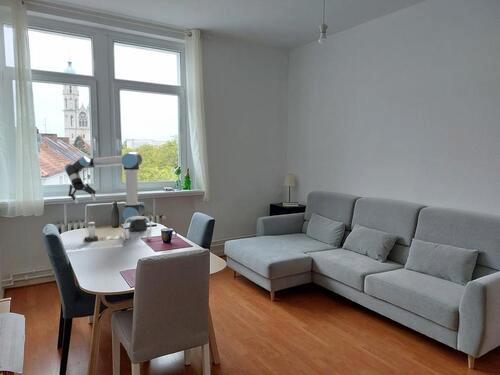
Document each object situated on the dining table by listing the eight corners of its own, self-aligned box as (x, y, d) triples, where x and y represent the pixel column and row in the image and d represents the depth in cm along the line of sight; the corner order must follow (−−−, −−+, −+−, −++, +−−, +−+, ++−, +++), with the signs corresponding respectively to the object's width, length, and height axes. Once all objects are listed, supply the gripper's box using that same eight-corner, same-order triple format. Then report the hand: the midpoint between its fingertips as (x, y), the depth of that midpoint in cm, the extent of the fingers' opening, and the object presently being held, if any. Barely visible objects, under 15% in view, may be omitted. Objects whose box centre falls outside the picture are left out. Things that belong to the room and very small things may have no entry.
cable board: (120, 237, 270) (120, 232, 270) (122, 240, 261) (121, 235, 261) (83, 241, 259) (83, 236, 259) (83, 244, 250) (83, 239, 250)
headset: (151, 237, 269) (151, 214, 267) (151, 239, 263) (151, 216, 261) (124, 239, 264) (123, 216, 262) (123, 242, 257) (122, 218, 255)
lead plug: (95, 238, 260) (94, 221, 259) (95, 240, 256) (94, 222, 255) (88, 239, 258) (87, 222, 257) (88, 241, 254) (87, 223, 253)
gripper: (90, 182, 286) (100, 202, 278) (58, 184, 266) (67, 206, 259) (93, 176, 282) (103, 196, 274) (60, 178, 262) (70, 200, 255)
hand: (86, 201), depth 266 cm, fingers open, 13 cm apart
